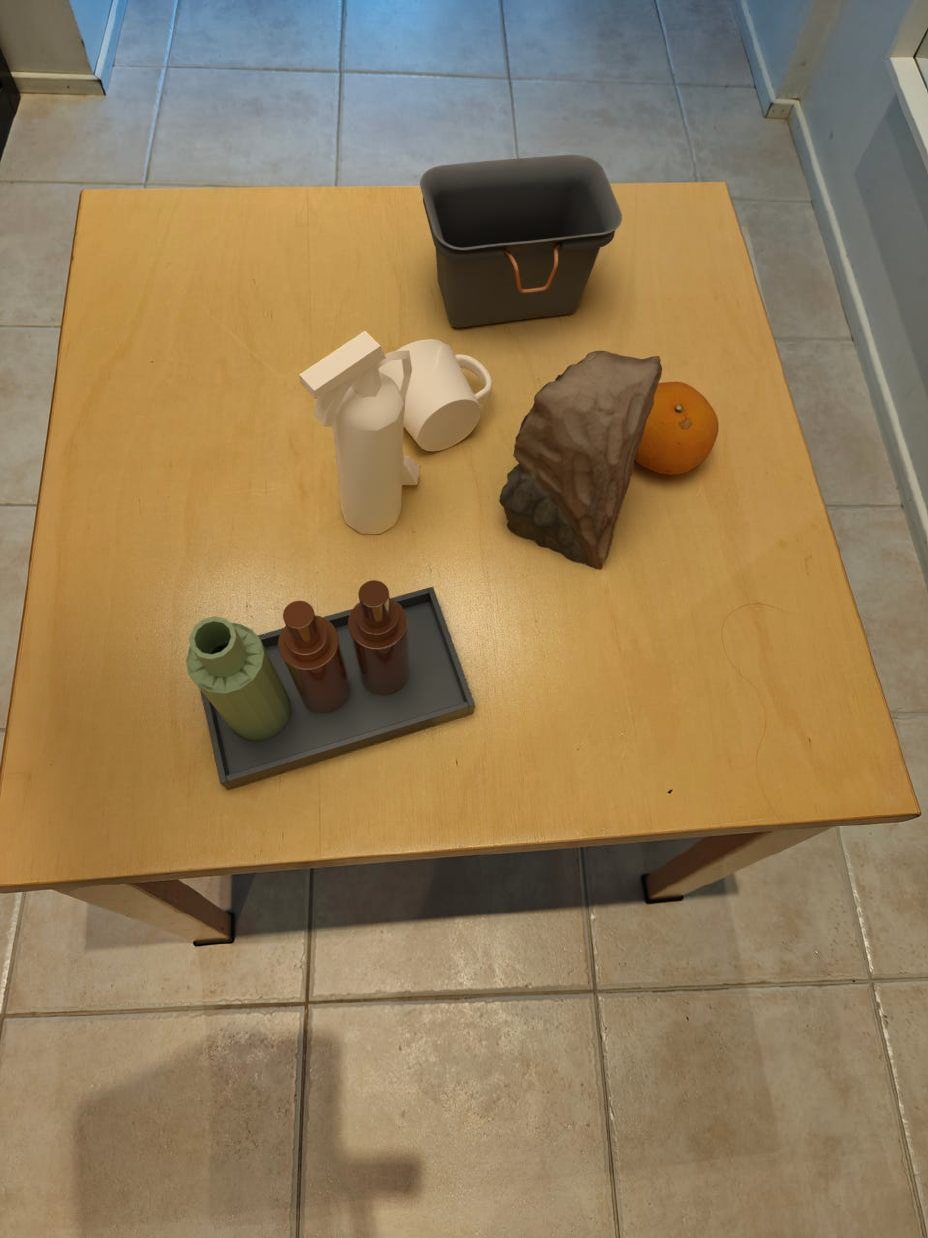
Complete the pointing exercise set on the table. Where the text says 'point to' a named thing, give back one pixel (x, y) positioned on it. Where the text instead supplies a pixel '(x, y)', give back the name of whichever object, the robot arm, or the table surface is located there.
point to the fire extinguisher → (365, 430)
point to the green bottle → (238, 678)
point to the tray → (352, 702)
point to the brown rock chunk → (580, 454)
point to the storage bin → (517, 235)
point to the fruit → (677, 430)
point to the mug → (439, 393)
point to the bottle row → (319, 654)
